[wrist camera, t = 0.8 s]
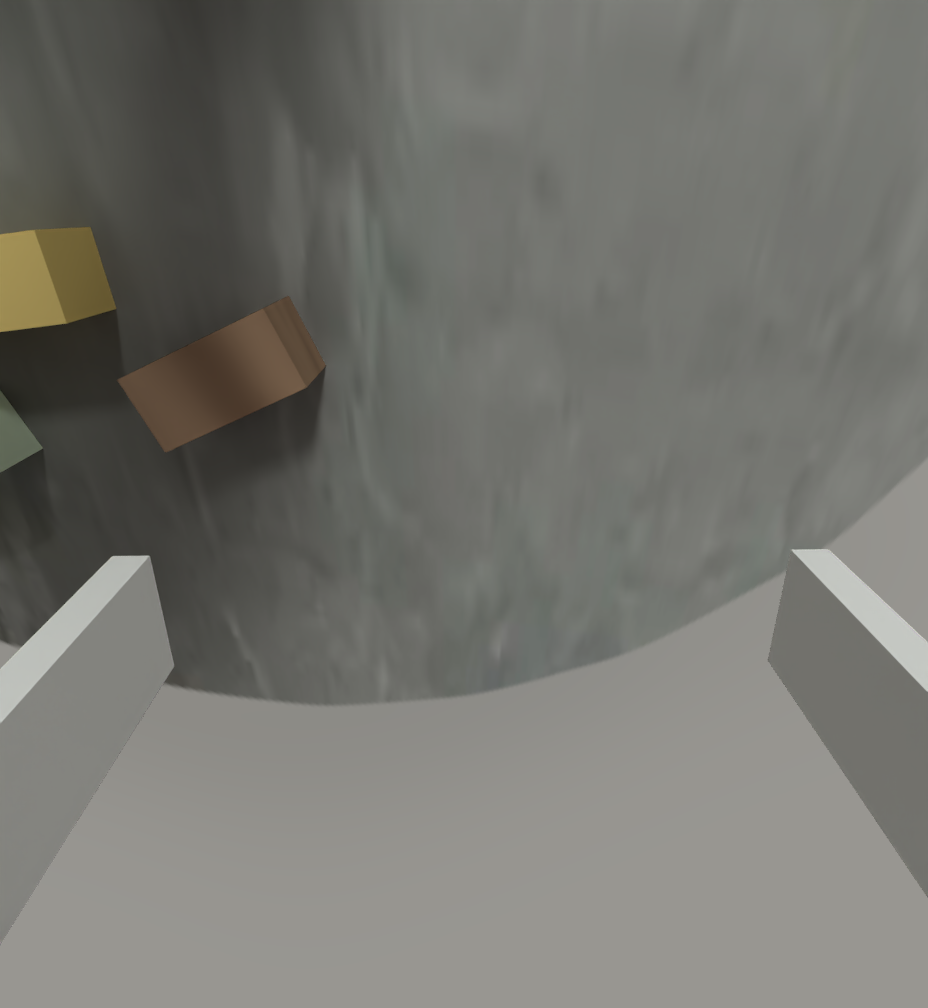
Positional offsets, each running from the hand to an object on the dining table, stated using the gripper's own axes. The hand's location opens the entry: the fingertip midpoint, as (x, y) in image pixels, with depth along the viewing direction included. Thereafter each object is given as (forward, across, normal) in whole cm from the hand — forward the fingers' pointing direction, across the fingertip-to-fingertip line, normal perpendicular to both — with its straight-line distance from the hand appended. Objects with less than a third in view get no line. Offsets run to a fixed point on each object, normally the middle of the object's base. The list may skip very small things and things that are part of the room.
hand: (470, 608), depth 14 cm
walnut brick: (+25, -12, 0) cm, 27 cm away
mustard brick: (+25, -22, +4) cm, 34 cm away
